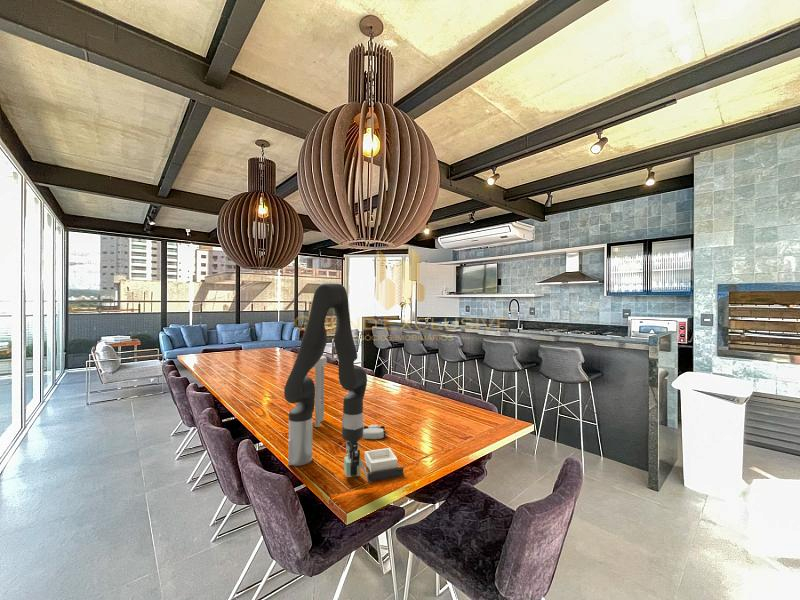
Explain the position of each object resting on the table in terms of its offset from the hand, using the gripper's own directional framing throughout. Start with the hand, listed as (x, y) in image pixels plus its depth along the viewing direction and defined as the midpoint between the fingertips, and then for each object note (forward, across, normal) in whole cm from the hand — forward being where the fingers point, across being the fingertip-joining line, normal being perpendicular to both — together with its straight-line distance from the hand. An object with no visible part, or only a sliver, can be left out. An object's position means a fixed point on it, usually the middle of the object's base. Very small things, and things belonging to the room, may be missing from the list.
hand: (352, 471), depth 120 cm
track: (+3, -5, +11) cm, 13 cm away
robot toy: (+4, -36, +18) cm, 40 cm away
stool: (+5, -62, -9) cm, 63 cm away
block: (+1, 0, 0) cm, 1 cm away
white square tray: (+2, -1, +11) cm, 11 cm away
